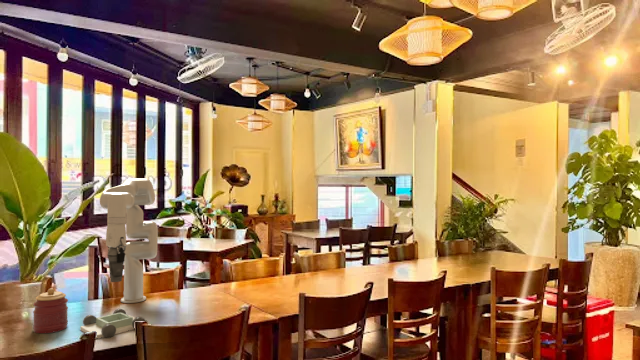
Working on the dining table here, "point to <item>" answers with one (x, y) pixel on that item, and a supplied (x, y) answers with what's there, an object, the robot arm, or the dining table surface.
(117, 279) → the beverage cup
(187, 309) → the dining table surface
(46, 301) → the canister
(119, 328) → the chassis bay
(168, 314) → the dining table surface
